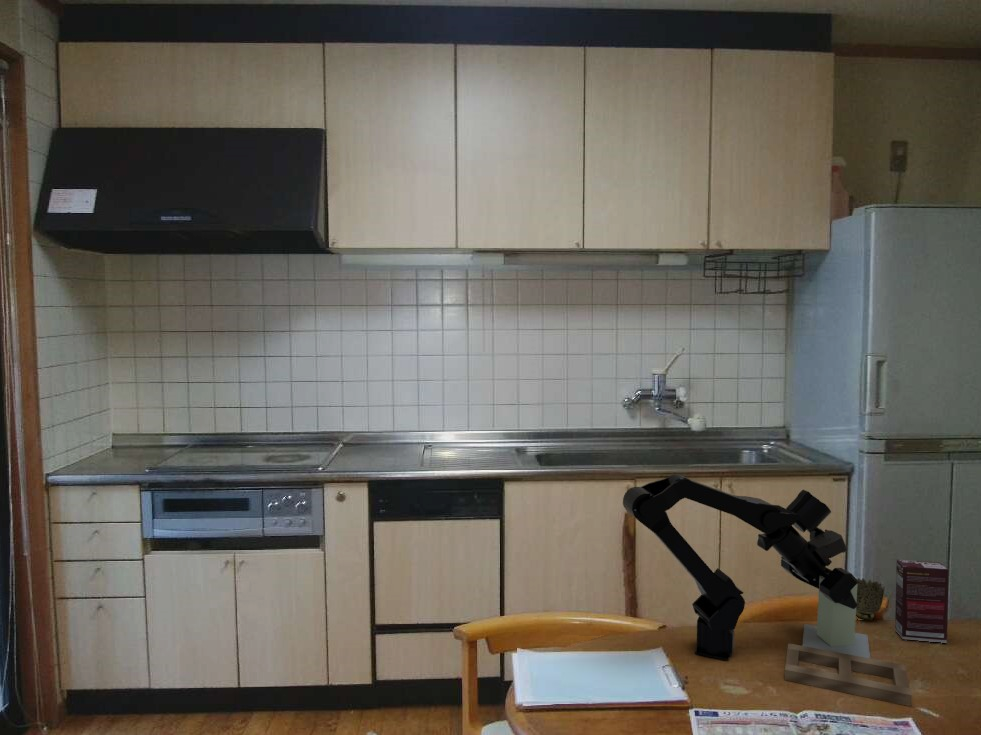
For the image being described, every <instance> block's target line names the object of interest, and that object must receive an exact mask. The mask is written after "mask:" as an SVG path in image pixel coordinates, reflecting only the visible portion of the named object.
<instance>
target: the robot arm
mask: <svg viewBox="0 0 981 735" xmlns="http://www.w3.org/2000/svg"><path fill="white" fill-rule="evenodd" d="M684 499H687V500H689V501H693V502H695V503H698V504H700V505H704V506H706V507H710V508H712V509H715V510H716V511H717V510H718V511H720V512H723V513H727V514H728V515H732V516H734V517H736V518H738V519H739V520H741V521H742V522H745V524H748V525H750V526H751V527H753V528H754V529H757V530H758V531H759V532H762V533H758V535H757V537H758V538H757V541H756V546H758V547H759V548H760V549H762V550H764V551H766V552H768V551H769V550H770V549H771V548H773V549H774V550H775V551H776V552H777V553H778V554H779V555H780V556H781V557H780V558H781V560H780V566H781V568H783V569H784V570H785V572H787V573H788V574H790V575H791V576H792V577H794V578H795V579H798V580H799V581H801V582H803V583H805V584H807V585H809V586H811V587H814V588H815V589H818V592H819V591H820V592H821V593H822V594H823V595H825V597H826V598H828V599H830V600H831V601H833V602H834V603H839V604H842V605H844V606H847V607H849V608H852V609H855V608H856V607H857V603H856V601H855V599H854V597H853V595H852V593H851V590H852V589H853V587H854V586H855V585H856V584H857V583H858V580H857V579H856V578H855V577H856V576H855V575H854V574H853V573H852V572H849V571H848V570H846V569H844V568H842V567H834V568H832V569H833V570H830V568H828V567H829V566H830V565H831V564H832V563H833V561H832V560H831V559H832V558H834V557H836V556H838V555H840V554H842V553H846V552H847V551H848V547H847V546H846V543H845V540H844V538H843V536H842V534H839V533H838V532H836V531H834V530H831V529H830V530H828V529H825V530H822V529H821V528H820V527H818V526H820V525H821V524H822V522H824V521H825V519H826V518H827V517H828V516H830V515H831V513H832V511H831V509H830V508H829V506H828V505H827V504H826V503H824V502H822V501H821V500H820V499H818V498H817V497H816V496H814V495H812V494H811V492H810V491H809V490H805V489H802V490H801V491H799V493H798V494H797V496H796V497H795V499H793V500H792V501H791V503H790V504H789V505H787V506H786V507H783V506H782V505H779V504H778V505H777V504H771V503H770V502H767V501H766V500H764V499H761V498H758V497H751V496H747V495H736V494H731V493H728V492H726V491H723V490H720V489H718V488H715V487H713V486H709V485H707V484H704V483H701V482H699V481H696V480H693V479H690V478H688V477H686V476H684V475H681V474H679V473H674V474H671V475H669V476H667V477H665V478H661V479H658V480H656V481H651V482H649V483H646V484H644V485H642V486H634V487H633V486H632V487H631V488H629V489H627V490H626V492H625V493H624V495H623V498H622V505H623V508H624V510H626V511H627V512H628V513H629V514H630V515H631V516H632V517H633V518H634V519H636V520H637V521H638V522H640V523H641V524H642V525H643V526H644V527H646V528H647V529H648V530H649V531H651V532H652V533H654V536H656V537H657V538H658V539H659V541H660V542H661V543H662V544H663V545H664V547H666V549H667V550H668V551H669V552H670V553H671V554H672V556H673V557H674V558H675V559H676V560H677V561H678V562H679V564H680V565H681V566H682V567H683V568H684V569H685V570H686V572H687V573H688V574H689V575H690V576H691V578H692V579H693V580H694V582H695V583H696V585H697V588H698V590H699V592H700V594H701V595H700V596H698V598H696V599H695V601H693V603H692V604H691V605H692V608H693V610H694V611H693V612H694V614H695V615H697V616H698V618H697V621H696V647H695V649H694V654H695V655H699V656H703V657H708V658H712V659H718V660H723V661H729V660H730V657H731V655H733V653H734V650H735V629H736V627H737V623H738V621H739V618H740V616H741V615H742V614H743V612H744V609H745V604H746V602H745V598H744V597H743V596H742V595H743V594H744V591H742V590H741V589H740V588H739V587H738V586H737V585H736V583H735V582H734V581H733V579H732V577H730V576H728V575H727V574H726V573H725V572H724V571H722V570H721V569H720V568H718V567H717V568H716V569H715V570H714V572H713V570H712V569H711V568H710V567H709V566H708V564H707V563H706V562H705V561H704V560H703V558H702V557H701V556H700V555H699V554H698V553H697V551H695V549H694V548H693V547H692V546H691V545H690V543H688V542H687V540H686V539H685V538H684V537H683V536H682V534H680V532H679V531H678V530H677V529H676V528H675V526H674V525H673V524H672V522H671V520H670V518H669V515H668V513H667V511H669V510H670V509H671V508H673V507H674V506H675V505H676V504H678V503H679V502H680V501H681V500H684ZM798 531H800V532H801V533H805V532H806V531H807V532H808V533H809V540H807V539H806V538H804V537H803V535H802V534H801V533H799V532H798ZM826 573H827V574H826ZM853 575H854V576H855V577H854V576H853ZM820 578H822V579H823V581H822V582H821V583H820V584H819V579H820Z"/></svg>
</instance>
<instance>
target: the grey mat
mask: <svg viewBox="0 0 981 735" xmlns="http://www.w3.org/2000/svg"><path fill="white" fill-rule="evenodd" d="M801 646H806V647H811V648H817V649H822V650H827V651H833V652H838V653H844V654H849V655H854V656H860V657H865V658H870V659H871V654H870V645H869V637H868V634H865V633H864V634H863V633H858V632H855V637H854V645H850V646H830V645H829V644H827V643H826V642H825V641H824V640H822V639H821V638H820V637H819V636H818V635H817V625H812V624H806V623H804V625H803V636H802V644H801Z"/></svg>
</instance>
